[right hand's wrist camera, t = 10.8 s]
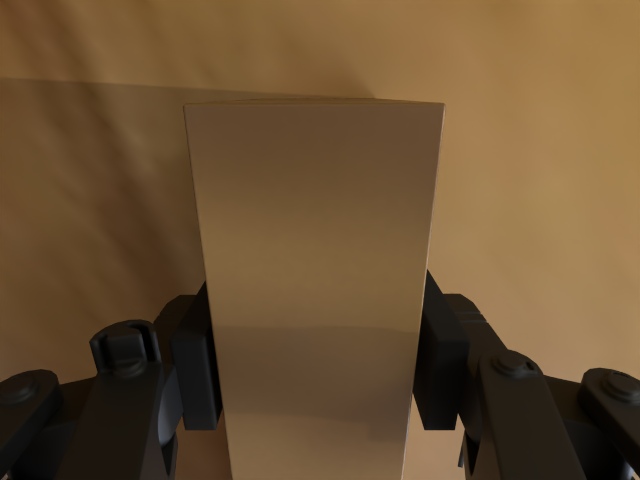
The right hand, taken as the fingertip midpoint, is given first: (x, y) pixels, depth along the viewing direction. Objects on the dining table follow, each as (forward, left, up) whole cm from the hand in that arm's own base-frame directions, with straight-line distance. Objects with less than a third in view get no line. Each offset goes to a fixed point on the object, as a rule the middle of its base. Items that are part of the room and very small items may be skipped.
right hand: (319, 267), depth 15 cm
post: (+7, -21, -2) cm, 22 cm away
